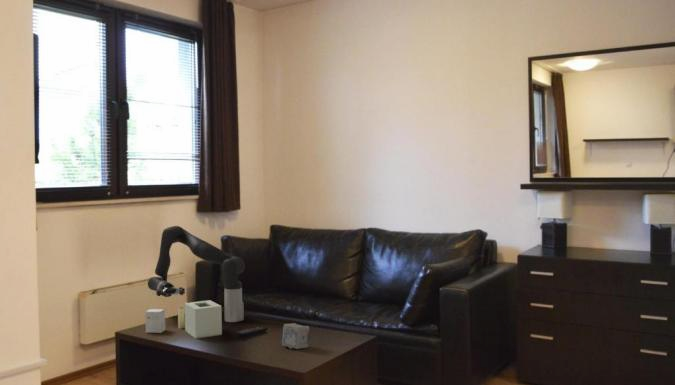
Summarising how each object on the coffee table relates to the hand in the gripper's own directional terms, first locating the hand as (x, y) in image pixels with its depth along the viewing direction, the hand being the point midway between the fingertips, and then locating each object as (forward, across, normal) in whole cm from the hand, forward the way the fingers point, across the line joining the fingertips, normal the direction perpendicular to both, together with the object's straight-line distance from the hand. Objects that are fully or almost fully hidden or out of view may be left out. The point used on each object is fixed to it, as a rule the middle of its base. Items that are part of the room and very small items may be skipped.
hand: (174, 294), depth 314 cm
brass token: (+12, 0, +15) cm, 19 cm away
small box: (+12, -13, +16) cm, 23 cm away
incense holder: (+74, +33, +14) cm, 82 cm away
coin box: (+28, +6, +15) cm, 32 cm away
